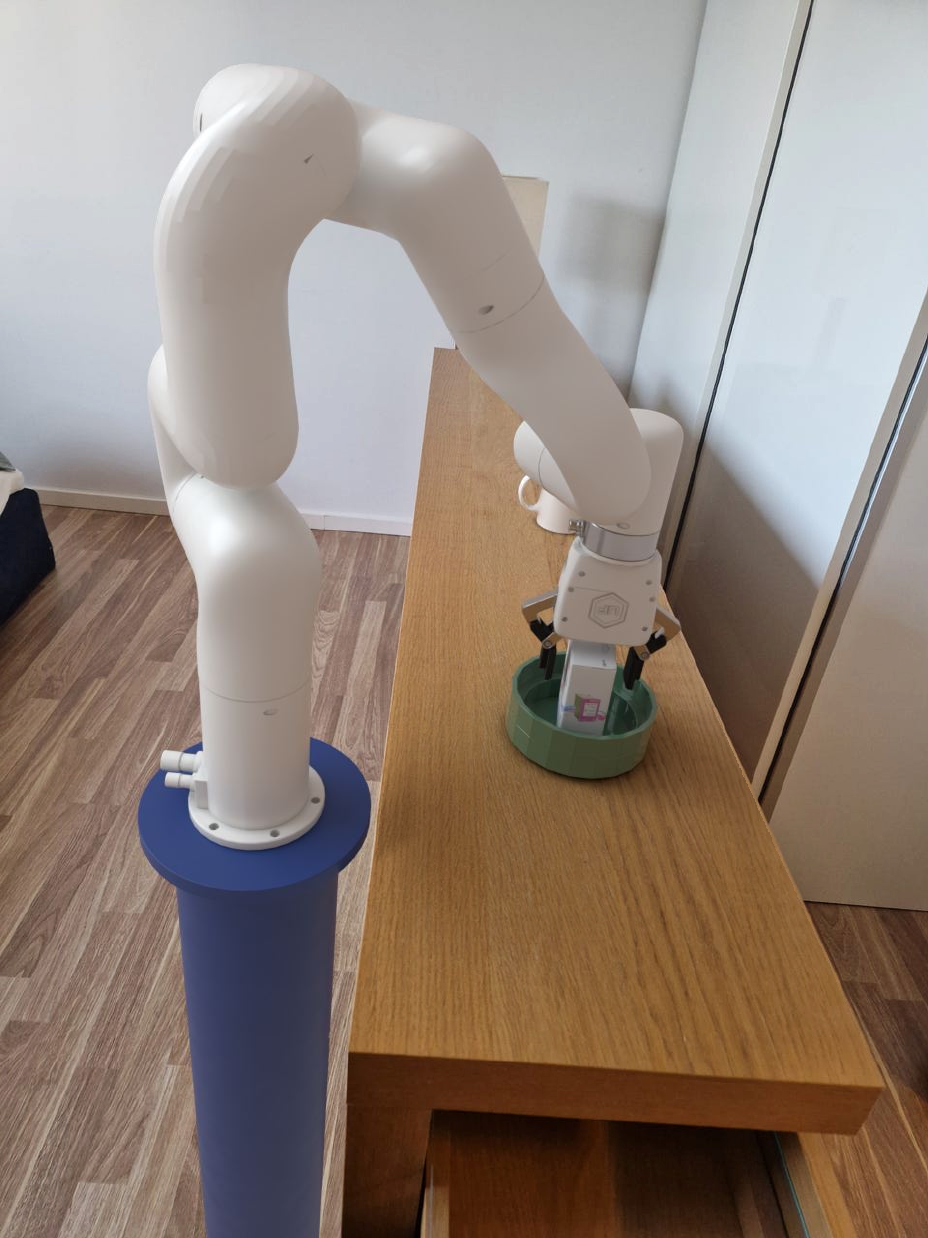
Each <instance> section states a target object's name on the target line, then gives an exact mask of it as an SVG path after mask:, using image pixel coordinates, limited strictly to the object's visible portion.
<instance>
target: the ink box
mask: <svg viewBox="0 0 928 1238" xmlns="http://www.w3.org/2000/svg"><path fill="white" fill-rule="evenodd" d="M566 651H567V653H566V659H565V665H564V670H563V676H562V681H561V687H560V692H559V697H558V703H557V716H556V727H559V728H562V729H565V730H569V731H572V732H575V733H578V734H586V735H594V736H602V733H603V729H604V724H605V720H606V715H607V711H608V706H609V701H610V697H611V692H612V688H613V683H614V679H615V674H616V670H617V665H616V663H617V653H616V651H617V650H616V645H612V644H604V643H595V642H587V641H579V640H572V639H568V643H567V649H566Z"/></svg>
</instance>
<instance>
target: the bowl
mask: <svg viewBox="0 0 928 1238" xmlns="http://www.w3.org/2000/svg"><path fill="white" fill-rule="evenodd" d="M566 653H567V650H565V651H563V650H562V651H557V653H556V658H555V663H554V668H553V673H552V678H551V679H549V680H544V669H542V668H539V657H540V654H539V655H535V656H532V657H530V658H528V659H527V660H525V661H524V662H522V663H521V664H519V665H518V667H517V668H516V670H515V672H514V673H513V675H512V677H511V680H510V681H511V683H510V687H509V692H508V697H507V705H506V710H505V731H506V732H507V734H508V737H509V739H510V741H511V743H512V744H513V745H514V747H516V749H518V751H520V752H521V754H523V756H525V757H526V758H527V759H529V760H530V761H532V762H534V763H536V764H537V765H539V766H541V767H543V768H544V769H546V770H549V771H551V772H555V773H558V774H561V775H564V776H567V777H574V778H581V779H592V780H594V779H595V780H596V779H604V778H612V777H617V776H619V775H622V774H624V773H626V772H628V771H629V772H630V771H631V770H633V769H634V768H635V767H636V766H637V765H638V764H639V763H640V762H641V761H643V759H644V757H645V754H646V751H647V748H648V744H649V740H650V737H651V734H652V730H653V728H654V727H653V726H654V723H655V720H656V717H657V713H658V710H659V706H658V703H657V699H656V695H655V693H654V691H653V690H652V688H651V687H650V686H649V684H648V683H647V682H646V680H644V678H642V676H641V677H640V679H639V680H635V682H634V686H633V689H632V690H627V688H625V683H624V678H623V670H624V667H625V665H622V664H620V663H618V662H616V665H617V670H616V674H615V679H614V683H613V688H612V692H611V697H610V701H609V706H608V711H607V715H606V720H605V724H604V729H603V733H602V736H594V735H586V734H578V733H575V732H572V731H569V730H565V729H562V728H559V727H556V716H557V703H558V697H559V692H560V687H561V681H562V676H563V670H564V665H565V659H566Z"/></svg>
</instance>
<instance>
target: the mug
mask: <svg viewBox="0 0 928 1238" xmlns="http://www.w3.org/2000/svg"><path fill="white" fill-rule="evenodd" d="M529 481H532V480H531V479H530V478H529V477H528V476H527V475H526V474H525V476H524V477H523V478H522V479H521V482H520V484H519V486H518V495H517V496H518V500H519V502H520V504H521V506H522V507H523V508H524V509H525V510H527V511H529V512H531V513H537V514H536V522H537V524H538V526H539V527H541V528H543V529H544V530H547V531H550V532H553V533H557V534H564V535H566V534H569V535H571V534H574V533H573V532H568V525H569V520H570V519H578V518H580V519H581V517H580V516H578V515H577V514H576V513H575V512H573V511H572V510H571V509H569V508H568V507H567V506H566V505H564V504H563V503H562V502H561V501H559V500H558V499H557V498H555V497H554V496H553V495H551V494H550V493H548V492H547V491H545V490H544V489H543V488H542V487H541V490H540V495H539V497H538V501H537V502H536V503H535V504H532V505H531V504H527V503H526V502H525V501H524V497H523V496H524V495H523V494H524V489H525V486H526V485H527V484H528V482H529Z"/></svg>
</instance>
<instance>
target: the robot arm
mask: <svg viewBox="0 0 928 1238" xmlns="http://www.w3.org/2000/svg"><path fill="white" fill-rule="evenodd" d="M192 133H193V139H194V141H193V143H192V144H191V145H190V147H188V149H187V150H186V152H185V153H184V154H183V156H182V158H181V159H180V161H179V163H178V165H177V166H176V168H175V170H174V172H173V173H172V175H171V177H170V180H169V182H168V184H167V186H166V188H165V191H164V193H163V196H162V199H161V201H160V203H159V208H158V210H157V211H158V212H157V215H156V220H155V225H154V231H153V245H152V252H153V255H152V261H153V262H152V263H153V277H154V285H155V286H154V287H155V293H156V299H157V306H158V308H157V309H158V315H159V325H160V334H161V340H162V344H161V345H160V346H159V347H158V349H157V350H156V351H155V354H154V355H153V358H152V360H151V363H150V366H149V369H148V373H147V383H146V384H147V385H146V386H147V387H146V389H147V401H148V402H147V403H148V408H149V409H148V410H149V416H150V420H151V426H152V427H151V428H152V432H153V437H154V443H155V448H156V454H157V458H158V463H159V471H160V474H161V479H162V485H163V489H164V495H165V500H166V504H167V508H168V513H169V516H170V520H171V523H172V527H173V528H174V531H175V533H176V535H177V537H178V539H179V542H180V544H181V546H182V548H183V550H184V553H185V556H186V558H187V560H188V562H189V565H190V567H191V570H192V572H193V575H194V577H195V578H194V579H195V583H196V590H197V598H198V599H197V600H198V611H197V612H198V613H197V623H196V665H197V676H198V686H199V703H200V722H201V738H202V739H201V740H202V741H203V751H198V752H197V754H196V755H195V754H187V753H184V752H182V751H179V750H169V749H165V750H163V751H162V753H161V756H160V761H159V767H160V768H161V770H165V771H174V772H181V771H184V772H192V773H193V774H192V775H184V774H181V773H173V772H168V773H167V775H166V778H165V786H166V787H174V788H189V789H190V793H189V797H188V805H189V813H190V818H191V820H192V822H193V824H194V826H195V827H196V828H197V829H198V831H199V832H200V833H201V834H202V835H204V836H205V837H206V838H208V839H209V840H211V841H213V842H215V843H217V844H219V845H222V846H225V847H229V848H233V849H240V850H263V849H269V848H275V847H278V846H281V845H284V844H287V843H289V842H291V841H294V840H296V839H298V838H299V837H301V836H302V835H304V834H305V833H306V832H308V831H309V830H310V829H311V828H312V827H313V826H314V825H315V824H316V822H317V821H318V819H319V818H320V816H321V814H322V811H323V808H324V801H325V791H324V785H323V782H322V780H321V778H320V776H319V775H318V773H317V772H316V771H315V770H314V769H313V768H312V767H311V766H310V765H309V755H310V737H311V711H312V676H313V675H312V674H313V673H312V670H313V669H312V668H313V667H312V666H313V665H312V662H313V658H312V657H313V638H314V626H315V619H316V613H317V608H318V603H319V601H320V595H321V594H320V593H321V592H322V591H321V589H322V585H323V574H324V573H323V561H322V555H321V551H320V547H319V545H318V542H317V540H316V538H315V535H314V533H313V531H312V530H311V527H310V526H309V524H308V523H307V521H306V520H305V518H304V517H303V515H302V514H301V513H300V511H299V510H298V509H297V507H296V506H295V504H294V503H293V502H292V501H291V499H290V498H289V497H288V496H287V495H286V494H285V492H284V491H283V490H282V488H281V486H280V485H279V484H278V481H277V480H279V479H280V478H281V477H282V476H283V475H284V474H285V473H286V471H287V470H288V468H289V467H290V465H291V463H292V462H293V459H294V457H295V454H296V451H297V447H298V442H299V431H300V425H299V424H300V423H299V414H298V406H297V405H298V403H297V398H296V390H295V379H294V369H293V359H292V349H291V338H290V336H291V335H290V327H289V326H290V325H289V324H290V323H289V282H290V281H289V280H290V274H291V270H292V265H293V263H294V260H295V257H296V255H297V253H298V251H299V249H300V248H301V246H302V245H303V243H304V242H305V240H306V238H307V237H308V235H310V234H311V232H312V230H314V229H315V228H316V227H317V226H318V224H319V223H320V222H322V221H323V220H328V221H332V222H334V223H335V222H336V223H338V224H339V223H340V224H344V225H348V226H352V227H356V228H361V229H365V230H369V231H372V232H377V233H380V234H382V235H384V236H385V237H388V238H390V239H392V240H394V241H397V242H398V243H399V245H400V246H401V248H402V249H403V251H404V253H405V254H406V257H407V258H408V260H409V262H410V263H411V265H412V267H413V269H414V271H415V272H416V274H417V276H418V278H419V279H420V281H421V283H422V285H423V286H424V288H425V290H426V292H427V295H428V296H429V297H430V300H431V301H432V303H433V304H434V307H435V308H436V310H437V312H438V314H439V316H440V317H441V319H442V321H443V323H444V325H445V326H446V329H447V331H448V332H449V335H450V336H451V338H452V339H453V342H454V343H455V345H456V347H457V349H458V351H459V353H460V354H461V356H462V357H463V358H464V360H465V361H466V363H467V364H468V365H469V366H470V367H471V369H472V370H473V371H474V373H475V374H476V375H477V376H478V377H479V378H480V379H481V380H482V382H483V383H485V385H486V386H488V388H490V389H491V390H492V391H493V392H494V393H495V394H496V395H497V396H498V397H500V398H501V399H502V401H504V402H505V403H506V404H507V405H508V406H509V407H510V408H511V409H512V410H514V412H516V414H518V416H520V418H521V419H522V420H523V421H522V422H521V424H520V425H519V427H518V428H517V430H516V432H515V435H514V439H513V445H512V446H513V455H514V458H515V461H516V463H517V465H518V467H519V469H520V470H521V472H522V473H524V474H525V476H526V475H527V476H528V477H529V478H530V479H531V480H530V481H532V482H533V483H535V484H536V485H537V486H539V487H540V488H541V489H542V488H543V489H544V490H545V491H547V492H548V493H550V494H551V495H553V496H554V497H555V498H557V499H558V500H559V501H561V502H562V503H563V504H564V505H566V506H567V507H568V508H569V509H571V510H572V511H573V512H575V513H576V514H577V515H578V516H580V517H581V519H580V518H578V519H570V520H569V525H568V532H573V533H572V534H575V535H577V536H576V537H575V538H574V539H573V542H572V544H571V546H570V548H569V550H568V553H567V556H566V558H565V561H564V563H563V567H562V570H561V573H560V576H559V579H558V583H557V588H555V589H552V590H550V591H547V592H545V593H542V594H539V595H537V596H534V597H531V598H529V599H526V600H524V601H522V602H521V614H522V616H523V618H524V619H525V621H526V623H527V625H528V627H529V629H530V631H531V633H532V634H533V635H534V636H535V637H536V638H537V639H538V641H539V642H541V647H540V652H539V655H540V657H539V668H542V669H544V680H549V679H551V678H552V673H553V668H554V663H555V658H556V653H557V652H558V651H557V650H558V649H557V648H558V647H557V644H558V643H559V642H560V641H561V640H563V638H564V639H567V640H569V639H572V640H579V641H587V642H595V643H604V644H612V645H615V646H623V647H628V652H627V656H626V658H625V663H624V666H625V667H624V670H623V678H624V683H625V688H627V690H632V689H633V686H634V682H635V680H639V679H640V677H641V678H642V672H643V669H644V665H645V661H648V660H649V659H650V658H651V655H653V654H654V653H656V652H657V651H659V650H661V649H663V648H665V647H666V646H667V643H668V642H669V641H671V640H672V639H674V637H675V636H677V635H678V634H679V633H680V632H681V631H682V625H681V622H680V620H679V619H677V618H676V616H674V615H673V614H671V613H670V612H669V611H667V610H666V609H664V607H662V606H661V605H660V604H658V601H659V596H660V589H661V583H662V582H661V581H662V572H663V571H662V570H663V566H662V565H663V558H662V555H661V554H660V551H659V550H658V549H657V547H658V544H659V538H660V535H661V532H662V527H663V523H664V519H665V515H666V512H667V507H668V504H669V500H670V495H671V492H672V487H673V485H674V484H673V483H674V480H675V475H676V472H677V468H678V465H679V460H680V457H681V453H682V448H683V443H684V430H683V427H682V425H681V424H680V423H679V422H678V421H677V420H676V419H675V418H673V417H671V416H669V415H668V414H664V413H662V412H659V411H655V410H652V409H646V408H635V407H634V408H632V407H631V408H630V407H629V405H628V403H627V401H626V399H625V397H624V396H623V394H622V392H621V391H620V389H619V388H618V385H616V383H615V382H614V379H612V377H611V376H610V374H609V373H608V371H607V370H606V369H605V367H604V366H603V364H602V363H601V362H600V360H599V359H598V357H597V356H596V355H595V353H594V352H593V350H592V349H591V348H590V347H589V345H588V343H587V342H586V340H585V339H584V337H583V336H582V334H581V333H580V332H579V330H578V329H577V327H576V326H575V325H574V323H573V322H572V321H571V320H570V318H569V317H568V316H567V314H566V313H565V312H564V310H563V309H562V307H561V306H560V304H559V302H558V300H557V298H556V296H555V294H554V292H553V290H552V288H551V286H550V283H549V281H548V279H547V277H546V274H545V272H544V269H543V268H542V266H541V263H540V261H539V258H538V256H537V254H536V251H535V249H534V247H533V244H532V242H531V240H530V237H529V234H528V232H527V231H526V228H525V226H524V223H523V221H522V218H521V215H520V214H519V211H518V209H517V207H516V205H515V202H514V200H513V198H512V195H511V193H510V191H509V189H508V187H507V184H506V182H505V180H504V177H503V175H502V173H501V171H500V169H499V166H498V165H497V163H496V160H495V159H494V157H493V155H492V153H491V152H490V151H489V150H488V148H487V147H486V145H485V144H484V143H483V142H482V141H481V140H480V139H479V138H478V137H477V136H475V134H473V133H471V132H470V131H468V130H465V129H464V128H461V127H458V126H456V125H453V124H450V123H445V122H439V121H434V120H431V119H425V118H420V117H414V116H411V115H405V114H402V113H398V112H394V111H390V110H387V109H383V108H379V107H376V106H373V105H370V104H367V103H364V102H361V101H358V100H355V99H352V98H349V97H346V96H345V95H344V94H343V93H342V92H341V91H340V90H339V89H338V88H337V87H336V86H335V85H333V84H332V83H330V82H329V81H327V80H326V79H325V78H323V77H321V76H319V75H318V74H316V73H312V72H310V71H308V70H304V69H300V68H296V67H290V66H284V65H269V64H263V63H255V62H254V63H253V62H251V63H249V62H248V63H247V62H246V63H238V64H235V65H230V66H227V67H226V68H224V69H221V70H220V71H218V72H217V73H215V74H214V75H213V76H212V77H211V78H210V79H209V80H208V81H207V82H206V84H205V85H204V86H203V88H202V89H201V90H200V93H199V95H198V97H197V99H196V102H195V106H194V111H193V114H192ZM551 608H552V612H553V618H551V620H549V621H548V622H547V623H546V622H545V621H544V620H543V619H542V617H541V616H540V615H539V613H540V612H543V611H546V610H548V609H551ZM655 622H657V623H658V624H659V625H660V626H661V627H660V628H659V629H657V630H655V631H653V628H654V624H655ZM202 741H201V742H202ZM160 768H159V769H160Z"/></svg>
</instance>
